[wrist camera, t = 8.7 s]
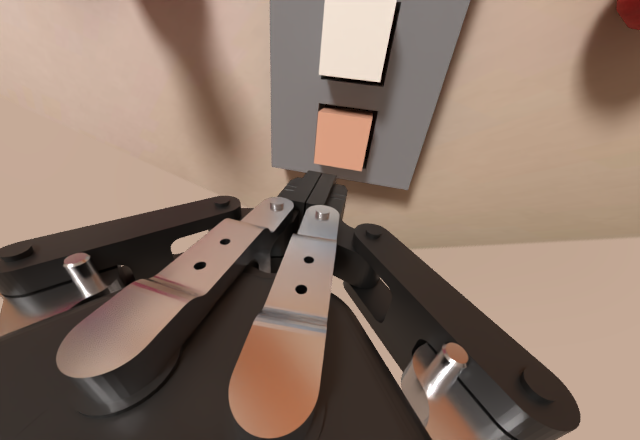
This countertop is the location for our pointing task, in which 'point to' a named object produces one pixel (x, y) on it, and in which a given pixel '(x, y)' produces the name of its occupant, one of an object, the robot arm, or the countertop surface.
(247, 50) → the countertop surface
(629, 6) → the onion
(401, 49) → the board
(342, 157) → the terracotta key
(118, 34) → the countertop surface
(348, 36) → the white key
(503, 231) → the countertop surface
